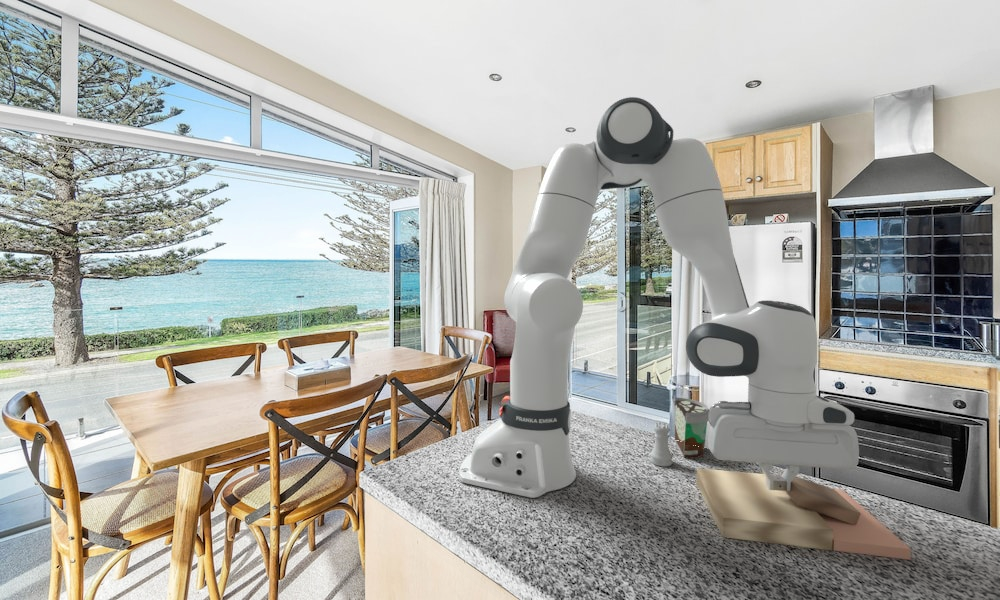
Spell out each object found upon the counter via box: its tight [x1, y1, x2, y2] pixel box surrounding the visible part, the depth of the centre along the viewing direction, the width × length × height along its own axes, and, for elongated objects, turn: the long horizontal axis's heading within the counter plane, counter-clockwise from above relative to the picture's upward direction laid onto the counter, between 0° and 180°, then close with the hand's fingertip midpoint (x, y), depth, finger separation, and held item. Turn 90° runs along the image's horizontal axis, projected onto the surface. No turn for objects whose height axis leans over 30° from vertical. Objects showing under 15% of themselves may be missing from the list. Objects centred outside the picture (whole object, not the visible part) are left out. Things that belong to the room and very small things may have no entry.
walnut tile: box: [780, 471, 861, 525], centre depth 66 cm, size 8×7×2 cm
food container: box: [673, 397, 710, 459], centre depth 92 cm, size 12×6×10 cm, turn 168°
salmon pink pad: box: [817, 488, 912, 561], centre depth 65 cm, size 9×16×2 cm, turn 167°
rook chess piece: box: [649, 421, 674, 468], centre depth 86 cm, size 4×4×8 cm
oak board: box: [696, 467, 833, 551], centre depth 68 cm, size 14×16×3 cm
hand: (777, 489), depth 67 cm, fingers closed
